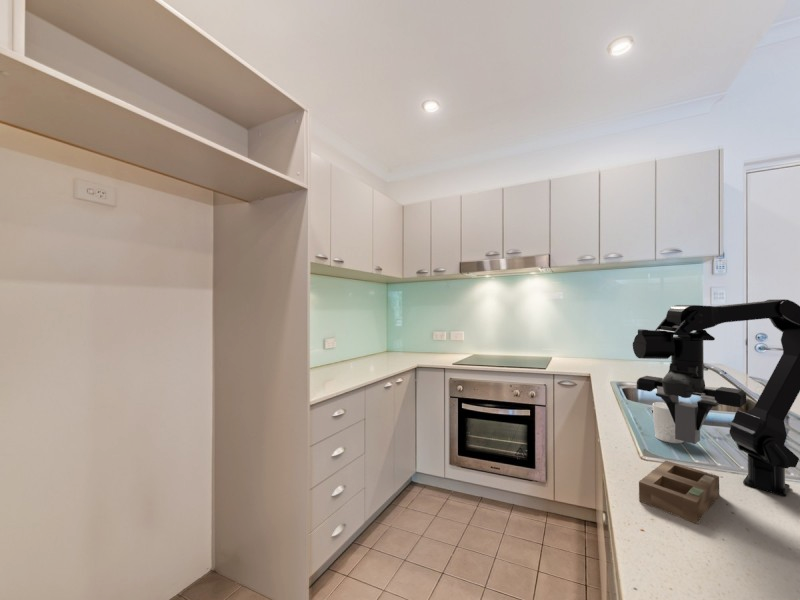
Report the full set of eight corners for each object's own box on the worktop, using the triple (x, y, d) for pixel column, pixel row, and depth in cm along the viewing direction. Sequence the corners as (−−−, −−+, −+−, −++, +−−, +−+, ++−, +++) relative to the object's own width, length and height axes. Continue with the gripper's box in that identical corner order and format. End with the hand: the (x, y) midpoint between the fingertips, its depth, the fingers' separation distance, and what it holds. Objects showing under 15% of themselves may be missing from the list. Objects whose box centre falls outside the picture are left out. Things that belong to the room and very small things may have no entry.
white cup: (671, 433, 108) (670, 401, 108) (693, 444, 100) (693, 409, 100) (646, 434, 108) (646, 402, 108) (666, 444, 100) (666, 410, 100)
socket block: (666, 477, 81) (665, 459, 81) (719, 495, 74) (719, 474, 74) (639, 500, 72) (638, 480, 72) (697, 524, 64) (696, 500, 64)
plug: (680, 435, 82) (680, 401, 82) (700, 440, 79) (699, 405, 79) (675, 438, 80) (674, 404, 80) (695, 444, 77) (694, 408, 77)
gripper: (626, 357, 83) (627, 422, 83) (733, 369, 67) (733, 450, 67) (645, 353, 89) (645, 414, 89) (746, 363, 74) (747, 437, 74)
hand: (687, 427), depth 80 cm, fingers closed on plug, 4 cm apart
